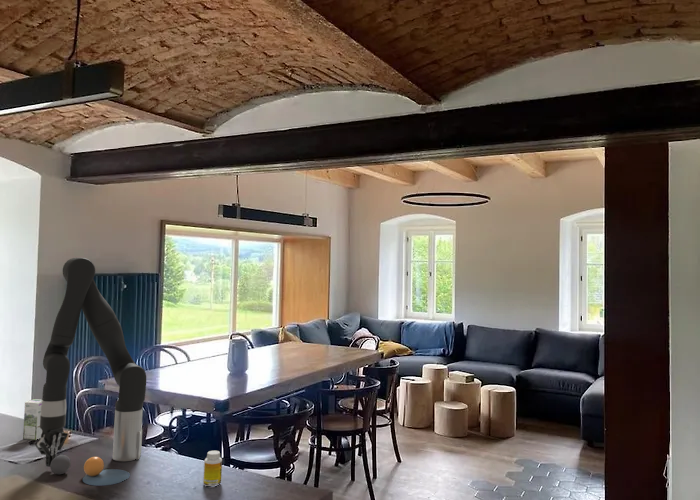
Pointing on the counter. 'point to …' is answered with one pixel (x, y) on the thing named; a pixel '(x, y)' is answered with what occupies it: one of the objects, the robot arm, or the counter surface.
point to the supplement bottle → (212, 469)
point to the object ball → (93, 466)
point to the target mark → (107, 477)
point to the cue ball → (60, 464)
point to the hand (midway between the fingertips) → (50, 465)
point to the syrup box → (32, 419)
